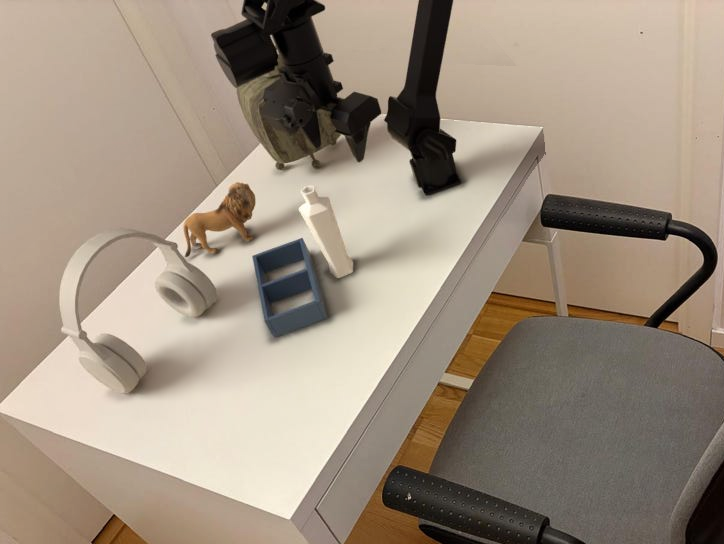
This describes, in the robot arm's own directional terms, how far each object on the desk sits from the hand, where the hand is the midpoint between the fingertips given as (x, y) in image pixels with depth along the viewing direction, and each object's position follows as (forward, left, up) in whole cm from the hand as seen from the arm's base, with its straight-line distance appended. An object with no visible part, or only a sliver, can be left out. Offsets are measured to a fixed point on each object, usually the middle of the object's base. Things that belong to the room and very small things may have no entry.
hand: (339, 153), depth 111 cm
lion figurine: (+22, -8, -13) cm, 27 cm away
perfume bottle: (+6, +9, -13) cm, 17 cm away
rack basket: (+14, +11, -13) cm, 22 cm away
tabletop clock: (+5, -22, -13) cm, 26 cm away
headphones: (+34, +12, -13) cm, 38 cm away
